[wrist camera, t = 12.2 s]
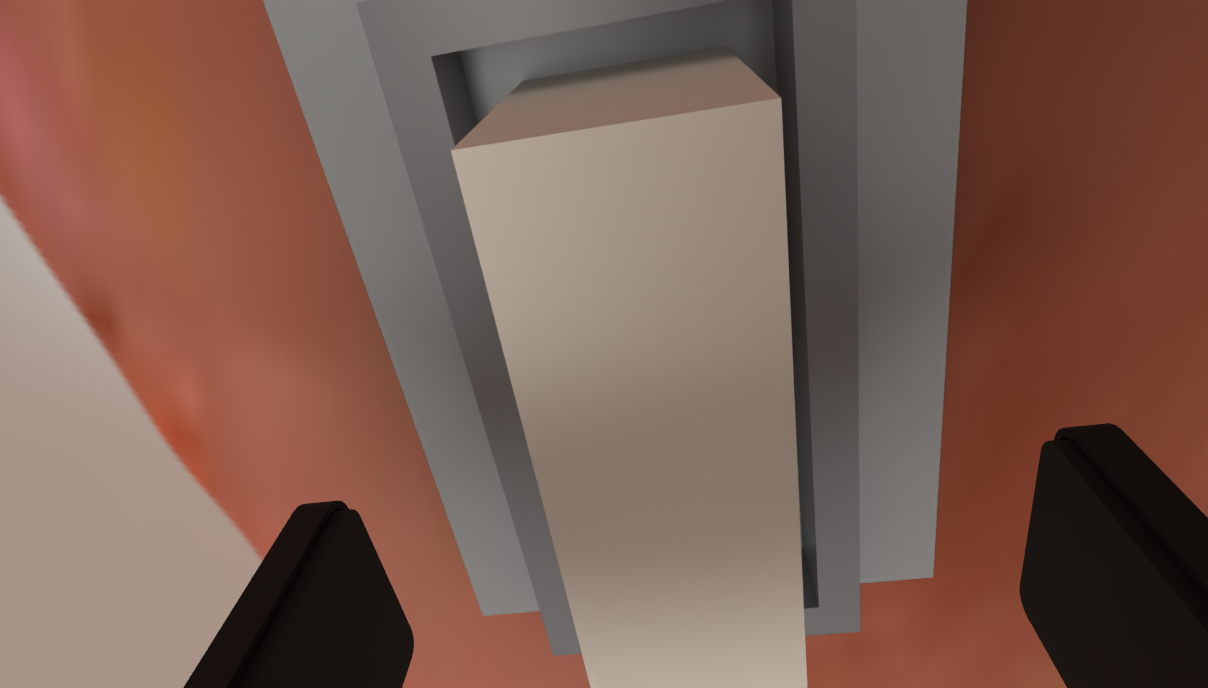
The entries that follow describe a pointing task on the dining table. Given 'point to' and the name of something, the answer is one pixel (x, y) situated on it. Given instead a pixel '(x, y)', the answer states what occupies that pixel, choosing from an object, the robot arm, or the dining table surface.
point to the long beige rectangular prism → (652, 358)
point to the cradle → (814, 231)
